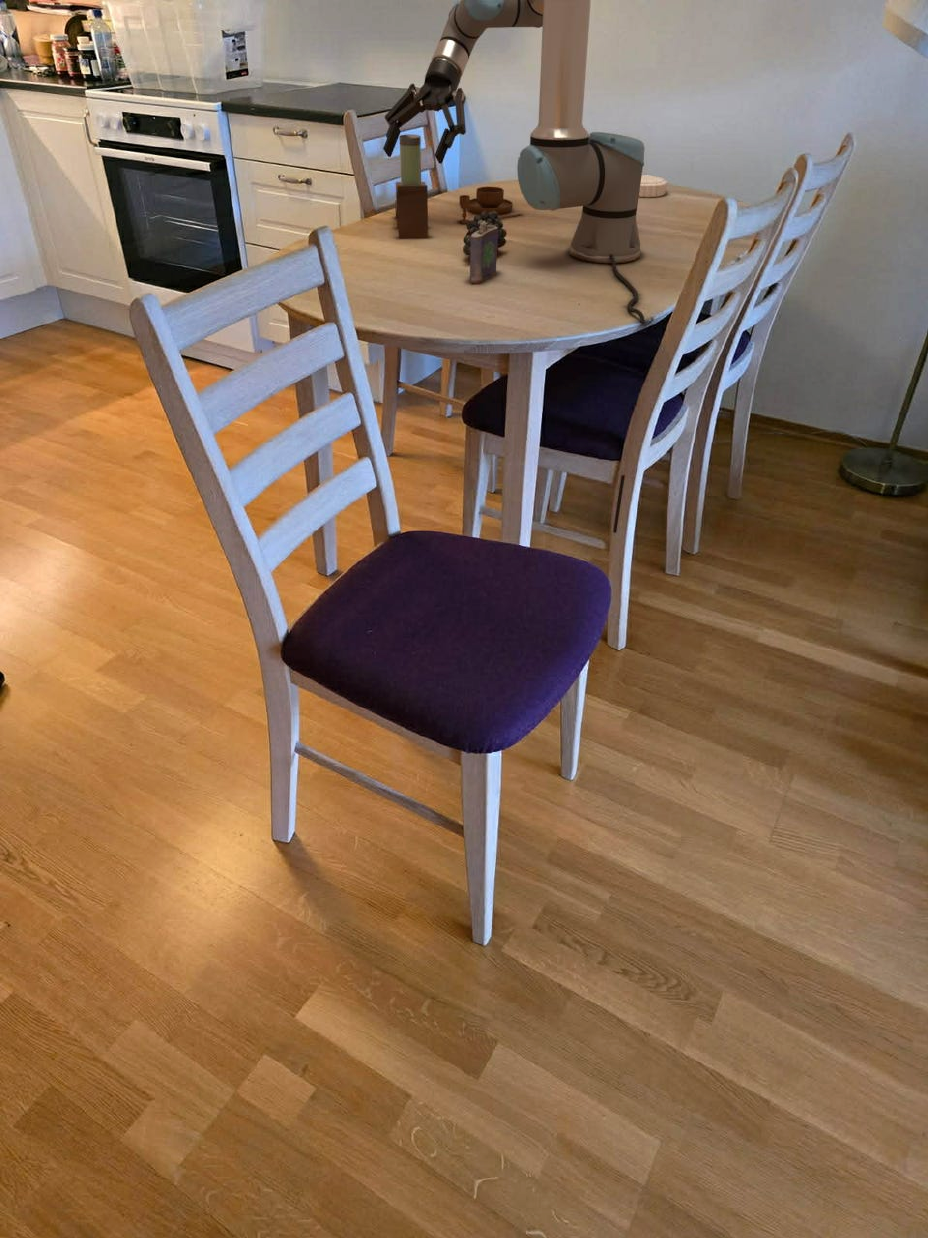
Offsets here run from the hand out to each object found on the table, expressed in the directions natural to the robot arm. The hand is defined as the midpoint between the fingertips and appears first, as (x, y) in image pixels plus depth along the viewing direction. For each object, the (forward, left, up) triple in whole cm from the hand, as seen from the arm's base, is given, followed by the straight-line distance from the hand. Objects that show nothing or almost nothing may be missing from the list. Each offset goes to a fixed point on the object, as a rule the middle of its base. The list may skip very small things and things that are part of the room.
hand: (412, 156), depth 188 cm
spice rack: (+4, 0, -16) cm, 17 cm away
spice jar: (-1, 0, -6) cm, 6 cm away
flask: (-36, -12, -16) cm, 41 cm away
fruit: (-21, -13, -16) cm, 29 cm away
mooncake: (+38, -66, -16) cm, 78 cm away
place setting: (+18, -17, -16) cm, 30 cm away
